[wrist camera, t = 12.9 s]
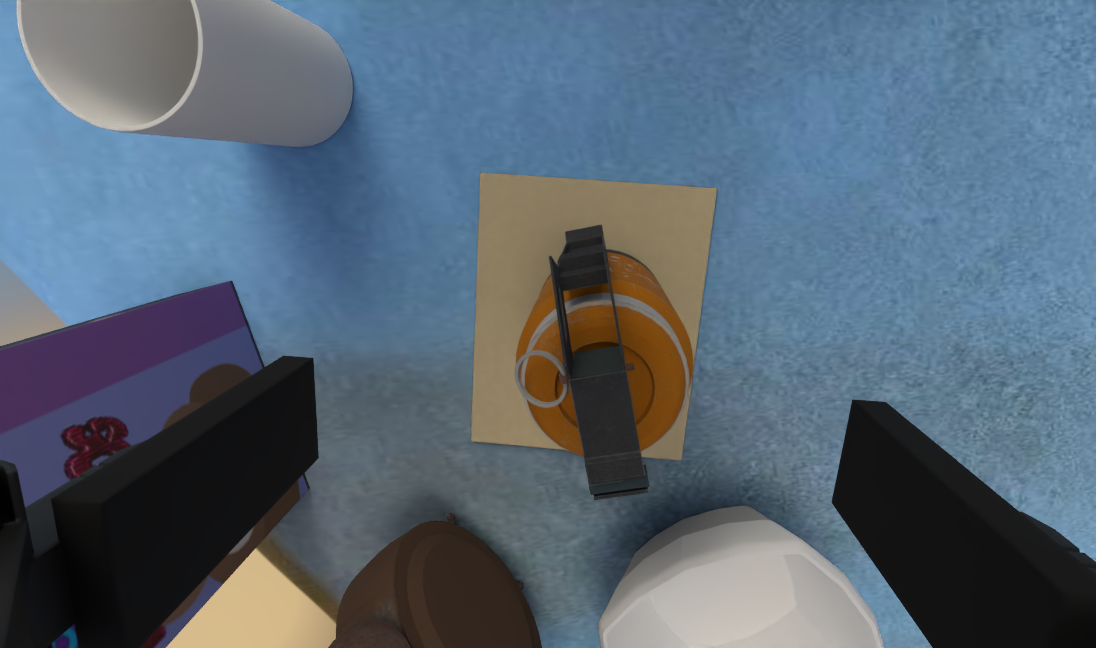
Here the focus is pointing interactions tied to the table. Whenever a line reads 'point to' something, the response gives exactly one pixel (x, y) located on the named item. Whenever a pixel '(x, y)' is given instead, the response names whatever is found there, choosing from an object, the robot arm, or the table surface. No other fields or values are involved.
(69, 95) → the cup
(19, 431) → the cereal box
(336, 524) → the table surface
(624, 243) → the mat
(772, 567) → the bowl
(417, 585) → the alarm clock
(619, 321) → the canister
